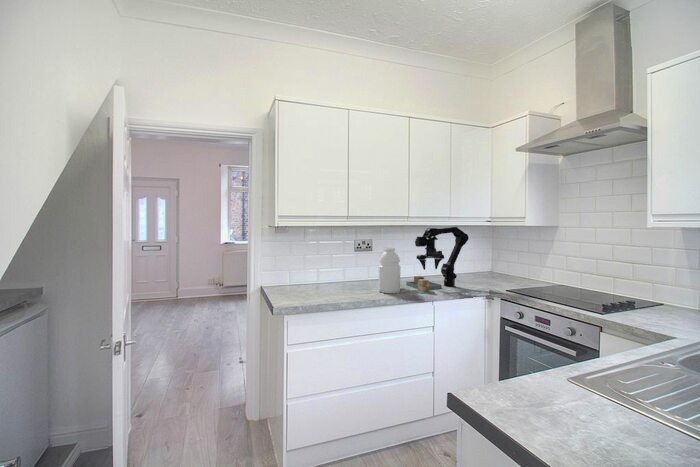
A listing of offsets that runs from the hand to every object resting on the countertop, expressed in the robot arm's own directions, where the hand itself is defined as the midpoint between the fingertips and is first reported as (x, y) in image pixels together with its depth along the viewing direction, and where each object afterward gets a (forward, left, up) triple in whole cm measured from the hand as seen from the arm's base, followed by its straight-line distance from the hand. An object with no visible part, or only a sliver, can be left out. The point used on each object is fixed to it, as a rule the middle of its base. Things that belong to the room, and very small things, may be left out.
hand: (430, 269), depth 228 cm
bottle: (+32, +2, -13) cm, 34 cm away
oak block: (+13, +12, -12) cm, 22 cm away
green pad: (+13, +12, -12) cm, 22 cm away
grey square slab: (+4, -2, -12) cm, 13 cm away
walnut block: (+4, -8, -12) cm, 15 cm away
